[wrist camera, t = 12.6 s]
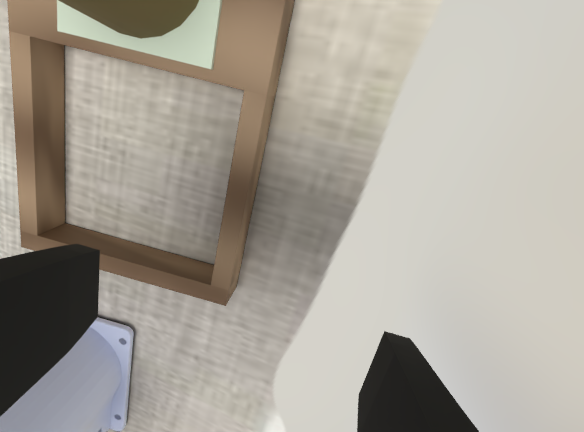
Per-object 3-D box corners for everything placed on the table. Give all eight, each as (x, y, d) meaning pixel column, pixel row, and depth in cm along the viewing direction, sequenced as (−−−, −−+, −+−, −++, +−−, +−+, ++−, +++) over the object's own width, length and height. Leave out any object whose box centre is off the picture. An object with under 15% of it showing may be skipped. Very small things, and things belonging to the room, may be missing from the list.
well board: (236, 286, 20) (224, 308, 18) (50, 233, 21) (18, 248, 19) (323, -141, 13) (320, -185, 11) (40, -201, 14) (-13, -253, 12)
